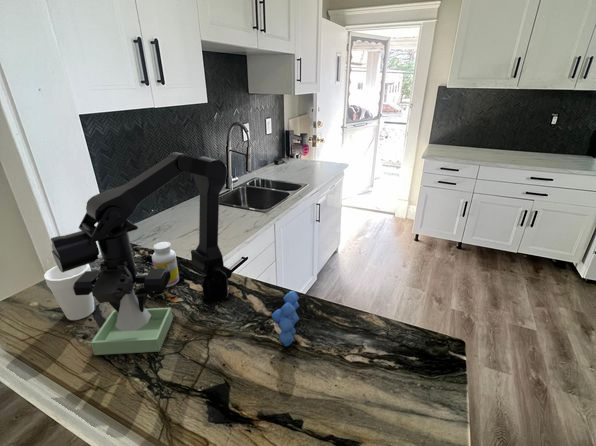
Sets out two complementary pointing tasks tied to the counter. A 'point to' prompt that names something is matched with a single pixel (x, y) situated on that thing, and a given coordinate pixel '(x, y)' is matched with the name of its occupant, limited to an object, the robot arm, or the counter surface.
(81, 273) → the foam cup
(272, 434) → the counter surface
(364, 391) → the counter surface
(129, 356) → the counter surface
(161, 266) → the supplement bottle
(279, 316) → the grapes
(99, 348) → the green tray
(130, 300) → the flask
